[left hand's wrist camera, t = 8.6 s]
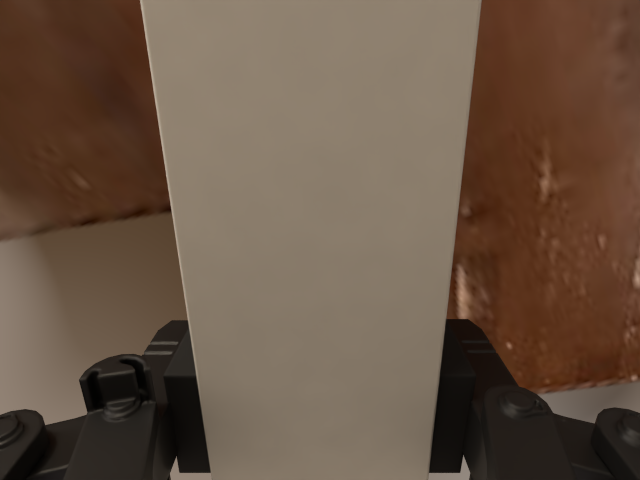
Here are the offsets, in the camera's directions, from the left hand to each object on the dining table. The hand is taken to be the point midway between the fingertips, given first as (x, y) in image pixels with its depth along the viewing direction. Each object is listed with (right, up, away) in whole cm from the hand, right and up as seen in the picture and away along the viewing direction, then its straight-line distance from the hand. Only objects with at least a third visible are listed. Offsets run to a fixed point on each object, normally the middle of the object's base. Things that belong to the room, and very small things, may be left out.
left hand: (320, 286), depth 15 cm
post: (0, +32, -12) cm, 34 cm away
